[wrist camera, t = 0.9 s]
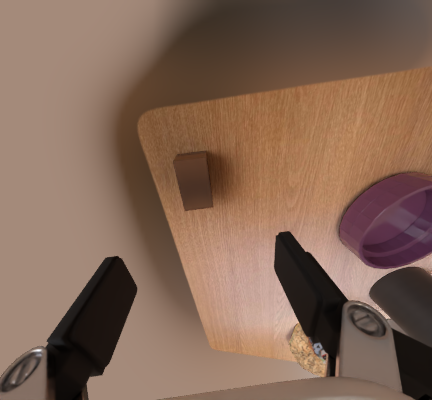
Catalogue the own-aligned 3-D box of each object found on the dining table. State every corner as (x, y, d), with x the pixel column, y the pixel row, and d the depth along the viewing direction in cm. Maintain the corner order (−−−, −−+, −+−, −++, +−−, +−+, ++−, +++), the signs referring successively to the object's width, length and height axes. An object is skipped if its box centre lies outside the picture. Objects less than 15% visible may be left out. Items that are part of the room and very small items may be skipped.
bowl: (320, 222, 30) (340, 240, 26) (414, 149, 25) (461, 156, 20) (360, 260, 36) (382, 280, 32) (444, 208, 31) (485, 224, 26)
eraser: (177, 154, 23) (172, 161, 19) (205, 150, 23) (206, 156, 19) (187, 198, 26) (184, 211, 22) (211, 194, 26) (213, 207, 22)
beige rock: (291, 296, 52) (301, 315, 44) (339, 307, 50) (358, 329, 42) (281, 347, 53) (288, 373, 46) (327, 359, 52) (342, 388, 44)
